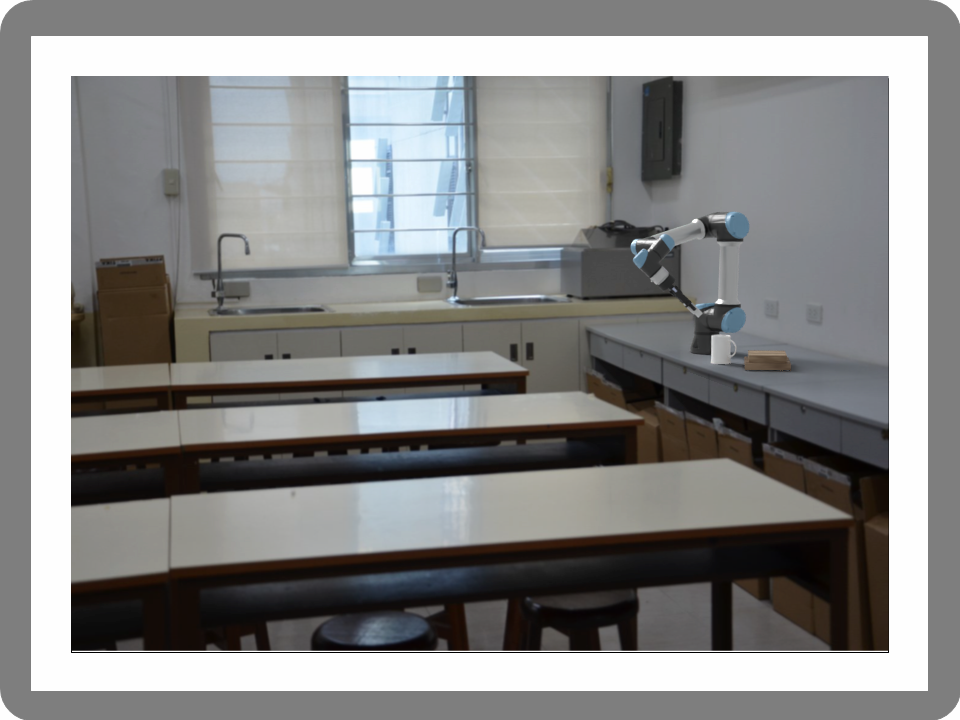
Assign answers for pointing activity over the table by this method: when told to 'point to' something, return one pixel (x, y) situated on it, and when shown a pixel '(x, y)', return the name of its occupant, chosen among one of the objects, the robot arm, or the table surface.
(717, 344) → the mug
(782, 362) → the pedestal
